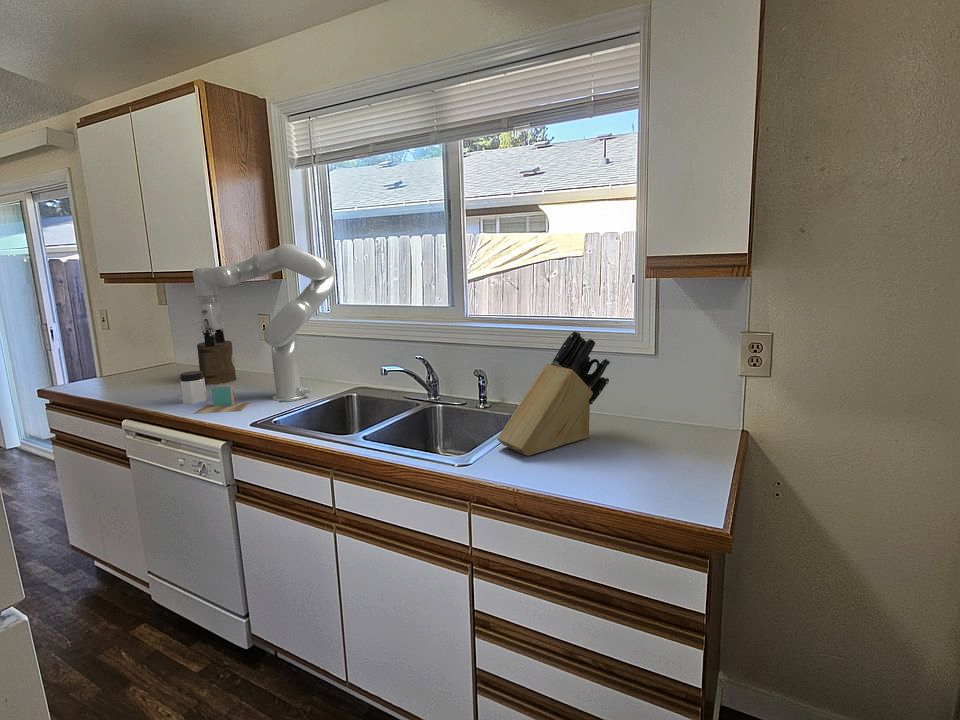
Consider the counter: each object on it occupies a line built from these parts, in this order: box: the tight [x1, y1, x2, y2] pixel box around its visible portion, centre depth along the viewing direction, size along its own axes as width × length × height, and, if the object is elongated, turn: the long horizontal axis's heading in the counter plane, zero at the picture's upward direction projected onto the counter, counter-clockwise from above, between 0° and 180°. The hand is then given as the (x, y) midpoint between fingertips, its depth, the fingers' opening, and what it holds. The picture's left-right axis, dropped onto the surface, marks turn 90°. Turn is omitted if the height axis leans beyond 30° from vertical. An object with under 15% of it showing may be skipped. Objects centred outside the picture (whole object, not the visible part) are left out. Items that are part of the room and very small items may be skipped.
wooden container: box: [196, 333, 237, 385], centre depth 256 cm, size 15×15×22 cm
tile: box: [210, 384, 235, 407], centre depth 210 cm, size 7×2×8 cm, turn 94°
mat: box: [193, 402, 252, 414], centre depth 208 cm, size 17×12×1 cm
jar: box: [179, 370, 208, 405], centre depth 219 cm, size 9×8×12 cm
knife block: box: [496, 330, 611, 456], centre depth 158 cm, size 11×35×31 cm, turn 125°
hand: (215, 344), depth 214 cm, fingers open, 9 cm apart
